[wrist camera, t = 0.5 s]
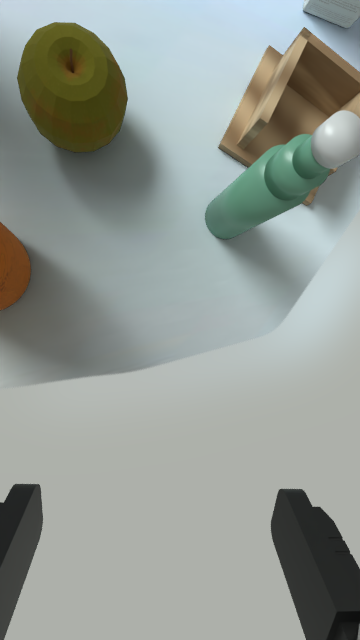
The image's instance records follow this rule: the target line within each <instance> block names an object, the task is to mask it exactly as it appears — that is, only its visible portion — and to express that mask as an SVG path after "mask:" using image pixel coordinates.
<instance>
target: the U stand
mask: <svg viewBox="0 0 360 640" xmlns="http://www.w3.org/2000/svg"><path fill="white" fill-rule="evenodd" d="M342 110H346V111H350V112H352V113H354V114H356V115H357V116H358V117H359V118H360V72H359V71H357V70H356V69H355V68H354V67H352V66H351V65H350V64H349V63H348V62H346V61H345V60H344V59H343V58H342V57H340V56H339V55H338V54H337V53H335V52H334V51H333V50H332V49H331V48H329V47H328V46H327V45H326V44H324V43H323V42H322V41H321V40H320V39H318V38H317V37H316V36H315V35H313V34H312V33H311V32H310V31H309V30H307V29H306V28H305V27H304V28H303V29H302V30H301V32H300V33H299V34H298V36H297V37H296V39H295V40H294V41H293V43H292V44H291V45H290V47H289V48H288V49H287V51H286V52H285V54H284V55H282V54H280V53H279V52H278V51H276V50H275V49H274V48H273V47H271V46H270V45H269V46H268V48H267V49H266V51H265V53H264V55H263V57H262V59H261V61H260V63H259V65H258V67H257V69H256V71H255V73H254V75H253V77H252V79H251V81H250V84H249V86H248V88H247V90H246V92H245V94H244V96H243V98H242V100H241V102H240V104H239V106H238V108H237V110H236V112H235V114H234V116H233V118H232V120H231V122H230V124H229V126H228V128H227V130H226V132H225V134H224V137H223V139H222V141H221V143H220V145H219V147H218V148H220V149H221V150H223V151H224V152H226V153H227V154H229V155H230V156H232V157H233V158H235V159H236V160H238V161H239V162H241V163H242V164H244V165H245V166H247V167H248V168H249V167H250V166H251V165H252V164H253V163H254V162H255V161H257V160H258V159H259V158H260V157H261V156H262V155H263V154H264V153H265V152H266V151H268V150H269V149H270V148H272V147H274V146H277V145H286V144H287V143H288V142H289V141H291V140H292V139H293V138H294V137H296V136H298V135H301V134H310V135H313V133H314V131H315V129H316V128H317V127H319V126H320V125H321V124H322V123H323V122H325V121H326V120H327V119H328V118H330V117H331V116H332V115H333V114H335V113H336V112H338V111H342ZM337 168H338V167H337ZM337 168H334V169H330V171H329V174H328V176H329V175H330V174H332V173H334V172H336V170H337ZM319 186H320V185H319ZM319 186H318V187H316V188H314V189H312V190H311V191H310V193H309V195H308V197H307V198H306V199H305V200H304V201H303V202H302V203H303V204H305V205H306V206H307V205H309V204H311V203H312V201H313V199H314V196H315V194H316V192H317V190H318V188H319Z"/></svg>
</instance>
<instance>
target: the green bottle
mask: <svg viewBox="0 0 360 640" xmlns="http://www.w3.org/2000/svg"><path fill="white" fill-rule="evenodd" d="M359 154H360V118H359V117H358V116H357V115H356V114H354V113H352V112H350V111H346V110H342V111H338V112H336V113H335V114H333V115H332V116H331V117H330V118H328V119H327V120H326V121H325V122H323V123H322V124H321V125H320V126H319V127H317V128H316V129H315V131H314V133H313V135H310V134H301V135H298V136H296V137H294V138H293V139H292V140H291V141H289V142H288V143H287V144H286V145H277V146H274V147H272V148H270V149H269V150H268V151H266V152H265V153H264V154H263V155H262V156H261V157H260V158H259V159H258V160H257V161H255V162H254V163H253V164H252V165H251V166H250V167H249V168H248V169H247V170H246V171H245V172H243V173H242V174H241V175H240V176H239V177H238V178H237V179H236V180H235V181H234V182H233V183H231V184H230V185H229V186H228V187H227V188H226V189H225V190H224V191H223V192H222V193H221V194H220V195H218V196H217V197H216V198H215V199H214V200H213V201H212V202H211V203H210V204H209V205H208V207H207V209H206V213H205V221H206V225H207V227H208V229H209V230H210V232H211V233H212V234H213V235H214V236H216V237H218V238H221V239H230V238H233V237H235V236H237V235H239V234H241V233H243V232H245V231H247V230H249V229H251V228H253V227H255V226H257V225H259V224H261V223H263V222H265V221H267V220H269V219H271V218H273V217H275V216H277V215H279V214H281V213H283V212H285V211H287V210H289V209H291V208H293V207H295V206H297V205H299V204H301V203H302V202H303V201H304V200H305V199H306V198H307V197H308V195H309V193H310V191H311V190H312V189H314V188H316V187H318V186H319V185H321V184H322V183H323V182H324V181H325V180H326V178H327V176H328V174H329V171H330V169H334V168H337V167H339V166H341V165H343V164H345V163H346V162H348V161H350V160H352V159H353V158H355V157H357V156H358V155H359Z"/></svg>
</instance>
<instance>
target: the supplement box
mask: <svg viewBox="0 0 360 640" xmlns="http://www.w3.org/2000/svg"><path fill="white" fill-rule="evenodd" d="M303 11H305V12H308V13H310V14H312V15H315V16H317V17H320V18H322V19H324V20H327V21H329V22H332V23H334V24H337V25H339V26H341V27H344V28H350V27H351V26H352V25H353V23H354V22H355V21H356V20H357V19H358V18H359V17H360V0H304V4H303Z"/></svg>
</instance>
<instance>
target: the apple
mask: <svg viewBox="0 0 360 640" xmlns="http://www.w3.org/2000/svg"><path fill="white" fill-rule="evenodd" d="M17 79H18V84H19V89H20V94H21V99H22V102H23V104H24V106H25V108H26V110H27V112H28V114H29V116H30V117H31V119H32V121H33V122H34V124H35V125H36V127H37V129H38V130H39V132H40V133H41V134H42V135H43V136H44V137H46V138H47V139H48V140H49V141H50V142H52V143H53V144H54V145H55V146H57V147H60V148H63V149H66V150H69V151H73V152H90V151H95V150H97V149H99V148H101V147H103V146H105V145H107V144H109V143H110V142H111V140H112V139H113V138H114V137H115V136H116V134H117V133H118V132H119V131H120V128H121V125H122V121H123V118H124V115H125V110H126V105H127V100H128V97H127V91H126V84H125V78H124V76H123V74H122V72H121V70H120V68H119V66H118V64H117V62H116V60H115V58H114V57H113V55H112V53H111V51H110V49H109V48H108V47H107V46H106V45H105V44H104V43H103V42H102V41H101V40H100V39H99V38H98V37H97V36H96V35H95V34H94V33H93V32H91V31H89V30H87V29H85V28H83V27H81V26H79V25H78V24H76V23H57V22H54V23H52V24H49V25H47V26H45V27H42V28H40V29H37V30H36V31H35V33H34V34H33V36H32V37H31V38H30V40H29V41H28V42H27V44H26V45H25V48H24V51H23V54H22V58H21V62H20V67H19V72H18V76H17Z"/></svg>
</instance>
